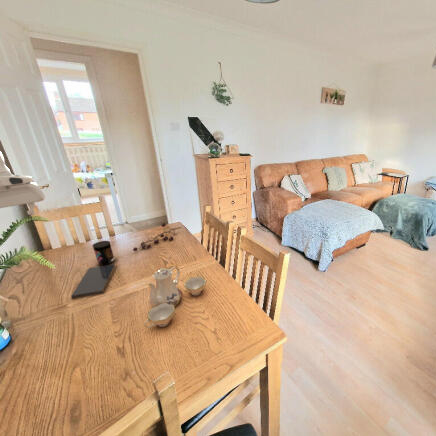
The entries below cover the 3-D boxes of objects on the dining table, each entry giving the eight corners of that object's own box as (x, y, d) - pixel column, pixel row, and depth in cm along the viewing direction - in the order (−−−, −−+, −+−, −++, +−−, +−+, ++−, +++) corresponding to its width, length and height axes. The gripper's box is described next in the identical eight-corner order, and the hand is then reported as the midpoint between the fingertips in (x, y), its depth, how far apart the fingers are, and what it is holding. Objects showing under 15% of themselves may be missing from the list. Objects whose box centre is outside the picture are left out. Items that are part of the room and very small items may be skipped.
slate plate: (72, 298, 94) (71, 295, 93) (90, 270, 111) (89, 267, 110) (103, 293, 97) (102, 290, 97) (115, 266, 114) (114, 264, 114)
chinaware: (166, 340, 80) (163, 303, 73) (124, 326, 83) (118, 288, 76) (211, 289, 105) (212, 257, 99) (178, 279, 108) (176, 247, 101)
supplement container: (101, 259, 119) (96, 241, 115) (117, 258, 121) (112, 240, 117) (95, 267, 113) (89, 248, 109) (112, 265, 115) (106, 246, 111)
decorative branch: (131, 243, 123) (171, 213, 146) (129, 253, 128) (168, 222, 152) (150, 255, 124) (186, 224, 147) (147, 264, 129) (183, 232, 153)
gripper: (-55, 188, 77) (-31, 228, 82) (31, 177, 87) (48, 213, 92) (-43, 186, 82) (-22, 223, 87) (37, 176, 92) (52, 209, 97)
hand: (15, 218), depth 90 cm, fingers open, 8 cm apart
